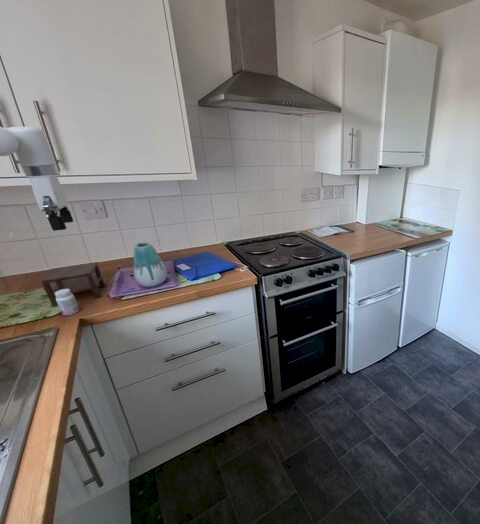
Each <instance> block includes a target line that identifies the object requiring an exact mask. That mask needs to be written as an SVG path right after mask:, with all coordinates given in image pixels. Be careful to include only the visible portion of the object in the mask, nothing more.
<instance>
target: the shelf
mask: <svg viewBox="0 0 480 524" xmlns="http://www.w3.org/2000/svg"><path fill="white" fill-rule="evenodd" d="M93 274H94V275H93ZM40 282H41V284H42V287H43V288H44V291H45V293H46V295H47V298H48V299H49V302H50V304H51V306H52V307H58V304H57V302H56V298H57V297H56V296H55V292H57V291H59V290H62V289H70V291H71V294H74V293H78V292H84V291H89V290H91V291H92V294H93V296H94V299H99V298H101V294H100V291H99V288H98V286H99V287H100V288H102V287H103V288H104V287H105V286H106V283H105V281H104V278H103V275H102V272H101V270H100V267H99V264H98V262H97V261H94V262H86V263H81V264H80V263H79V264H74V265H68V266H61V267H55V268H51V269H50V270H49V271H48V273H46V275H45V276H44V277H43V278H42V279H41V280H40ZM50 283H55V284H54V285H53V286H52V285H51V284H50Z"/></svg>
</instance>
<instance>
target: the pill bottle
mask: <svg viewBox="0 0 480 524" xmlns="http://www.w3.org/2000/svg"><path fill="white" fill-rule="evenodd" d="M55 297H56V302H57V304H58V305H57V307H58V308H59V310H60V313H61V314H62V315H63V316H70V315H73V314H76V313H78V312H79V311H80V307H79V304H78V302H77V300H76V297H75V295H74V293H71V291H70V289H62V290H59V291H57V292H55Z"/></svg>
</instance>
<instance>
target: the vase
mask: <svg viewBox="0 0 480 524" xmlns="http://www.w3.org/2000/svg"><path fill="white" fill-rule="evenodd" d="M133 276H134V279H135V281H136V282H137V283H138V284H139V285H140V286H142V287H146V288H152V287H156V286H160V285H162V284H163V283H164V282H165V281H166V279H167V278H168V269H167V266H166V265H165V263H164V261H163V260H162V258H161V257H160V255H159V253H158V252H157V250H156V248H155V247H154V246H153V244H151V243H149V242H138V243H136V244H135V246H134V248H133Z"/></svg>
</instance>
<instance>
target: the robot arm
mask: <svg viewBox="0 0 480 524" xmlns="http://www.w3.org/2000/svg"><path fill="white" fill-rule="evenodd" d="M13 154H16V156H17V158H18V161H19V163H20V166H21V168H22V170H23V172H24V175H25V177H26V178H27V179H29V182H30V186H31V189H32V192H33V196H34V198H35V201H36V203H37V207H38V208H39V210H40V212H44V214H46V219H47V220H48V223H49V225H50V228H51V230H52V231H54V232H56V231H64V230H67V226H66V224H68V223H73V222H74V219H73V216H72V213H71V211H70V208H69V206H68V200H67V197H66V194H65V192H64V189H63V187H62V185H61V182H60V179H59V176H61V173H60V170H59V167H58V165H57V161H56V160H55V157H54V154H53V152H52V149H51V146H50V144H49V141H48V139H47V135H46V133H45V132H44V130H43V129H42V128H40V127H38V126H10V127H2V126H0V157H8V156H11V155H13Z"/></svg>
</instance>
